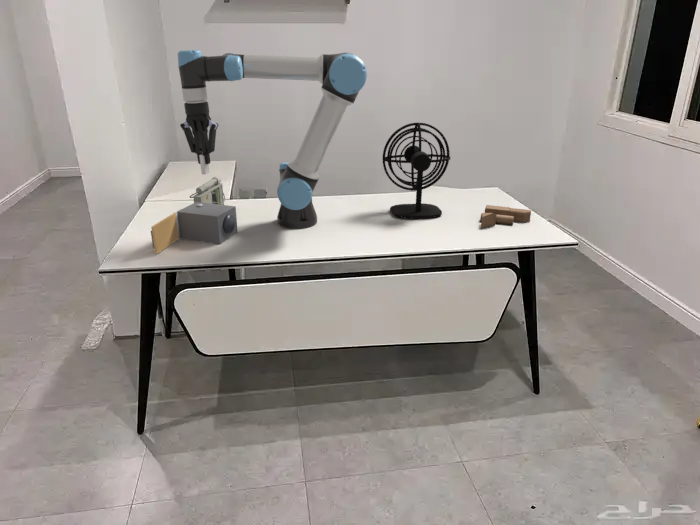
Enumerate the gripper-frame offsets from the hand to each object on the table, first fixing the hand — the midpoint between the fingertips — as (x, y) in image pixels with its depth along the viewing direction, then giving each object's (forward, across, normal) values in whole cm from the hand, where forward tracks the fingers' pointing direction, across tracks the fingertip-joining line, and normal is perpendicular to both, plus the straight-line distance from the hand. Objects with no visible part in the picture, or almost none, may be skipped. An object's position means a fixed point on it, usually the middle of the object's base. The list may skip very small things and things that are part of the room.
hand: (205, 173), depth 184 cm
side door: (+22, +10, +14) cm, 27 cm away
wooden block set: (+27, -99, -43) cm, 111 cm away
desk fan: (+26, -64, -47) cm, 84 cm away
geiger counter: (+23, +13, -22) cm, 35 cm away
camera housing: (+23, +2, 0) cm, 23 cm away
